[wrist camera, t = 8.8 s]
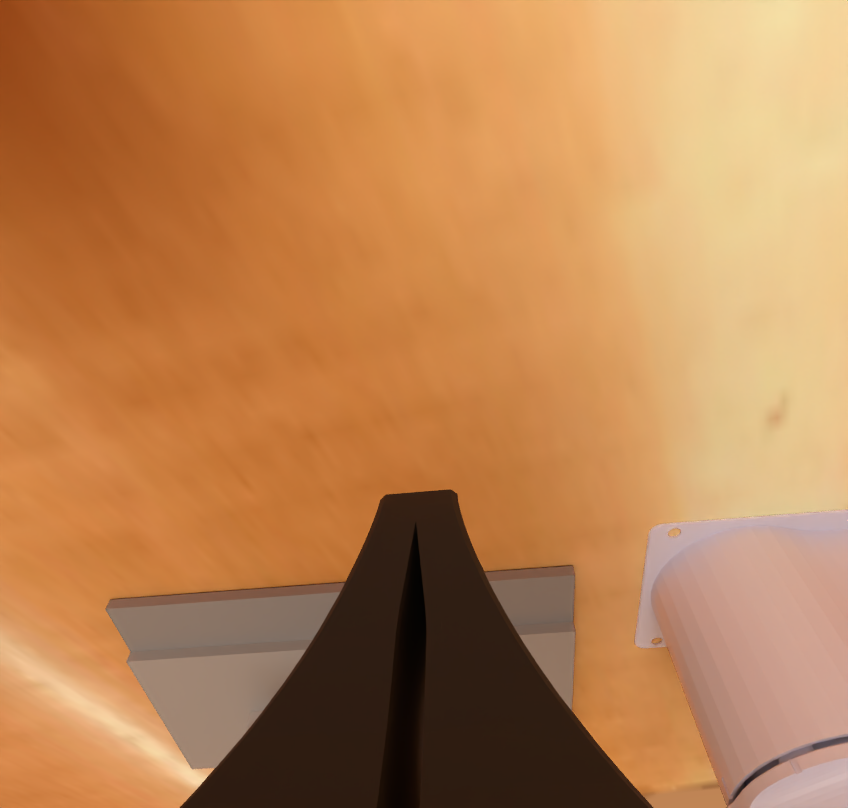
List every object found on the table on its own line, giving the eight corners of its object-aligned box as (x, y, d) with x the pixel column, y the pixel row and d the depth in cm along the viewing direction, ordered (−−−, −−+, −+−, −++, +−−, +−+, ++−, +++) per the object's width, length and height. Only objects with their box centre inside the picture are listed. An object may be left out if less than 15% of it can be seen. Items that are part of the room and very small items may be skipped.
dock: (572, 565, 26) (591, 635, 23) (566, 728, 33) (580, 797, 30) (110, 599, 27) (73, 670, 24) (197, 750, 34) (177, 819, 31)
